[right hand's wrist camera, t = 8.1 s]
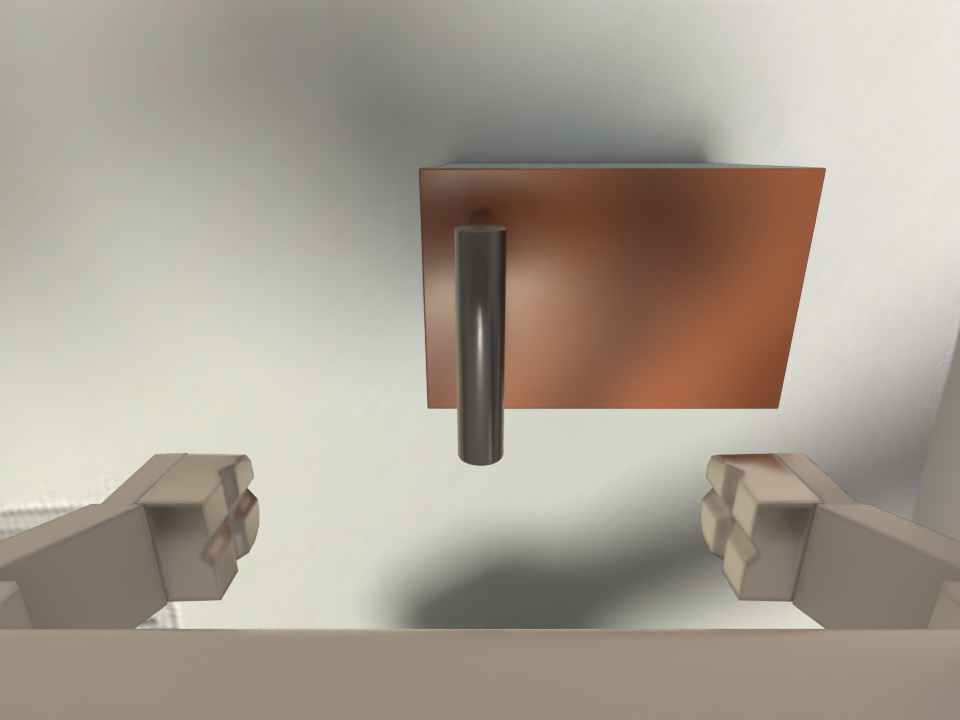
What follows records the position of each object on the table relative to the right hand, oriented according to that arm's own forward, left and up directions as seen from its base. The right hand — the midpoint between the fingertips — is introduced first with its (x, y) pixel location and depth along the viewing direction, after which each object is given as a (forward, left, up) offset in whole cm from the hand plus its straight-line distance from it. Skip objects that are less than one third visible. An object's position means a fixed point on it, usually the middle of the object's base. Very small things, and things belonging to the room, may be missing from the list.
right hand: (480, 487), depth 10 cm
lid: (+3, +4, -15) cm, 16 cm away
